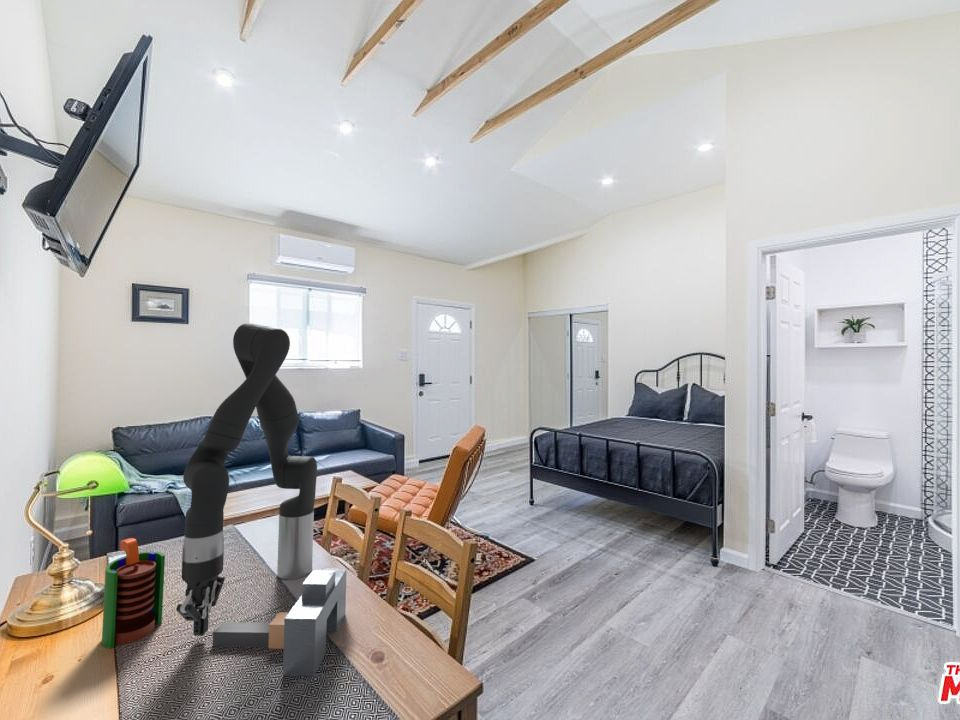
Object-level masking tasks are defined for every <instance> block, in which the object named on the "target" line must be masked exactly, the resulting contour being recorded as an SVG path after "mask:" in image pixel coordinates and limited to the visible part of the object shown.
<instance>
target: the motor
mask: <svg viewBox="0 0 960 720" xmlns="http://www.w3.org/2000/svg"><path fill="white" fill-rule="evenodd" d="M119 551H123V552H125V554H126V556H124V557H121V558H119V559H116V560H114V561H112V562H111V563H109V564H108V563H107V565H106V567H105V571H104V589H103V591H104V593H103V609H102V610H103V611H102V627H101V629H102V630H101V631H102V633H101V645H102V646H103V647H105V648H106V649H107V648H108V649H112V648H114V647H115V645H127V644H131V643H134V642H137V641H139V640H142V639H144V638H146V637H147V636H149V635H150V634H151V633H153V631H154V630H155V627H156V624H157V625H159V626H160V625H162V624H163V621H162V620H163V607H164V605H163V604H164V602H163V601H164V584H165V583H164V582H165V562H166V560H165V559H166V554H164V553H163V552H161V551H153V550H152V551H142V552H140V551H139V544H138V541H137V539H136V538H134V537H130V538H129V537H128V538H125V539H122V540H120V546H119Z"/></svg>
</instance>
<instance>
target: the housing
mask: <svg viewBox="0 0 960 720" xmlns="http://www.w3.org/2000/svg"><path fill="white" fill-rule="evenodd" d="M347 570H348V569H347V568H332V567H331V568H327V567H325V568H323V567H322V568H321V569H312V571H311V572H310V573H309V574H308V575H307V577H306V578H305V580H304V581H303V583H302V584H301V595H300V596H299V598H298V599H297V601H296V602H295V603H294V604H293V606H292V608H291V609H290V610H289V613H288V614H287V616H286V617H285V619H284V649H283V655H282V657H283V658H282V677H314V676H316V673H317V671H318V669H319V667H320V666H321V664H322V661H323V660H324V658H325V655H326V651H327V632H332V633H334V632H336V633H337V632H338V630H339V628H340V626H341V624H342V622H343V620H344V618H345V616H346V604H347V603H346V601H347V599H346V597H347Z"/></svg>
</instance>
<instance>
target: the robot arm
mask: <svg viewBox="0 0 960 720" xmlns="http://www.w3.org/2000/svg"><path fill="white" fill-rule="evenodd" d="M290 345H291V341H290V337H289V335H288V333H287V332H286V331H285V330H284V329H281V328H279V327H275V326H271V325H265V324H260V323H254V322H246V323H242V324H240V325H239V326H238V327H237V329H235V332H234V333H233V338H232V347H233V350H234V354H235V355H236V358H237V359H236V360H237V362H238V363H239V365H240V368H241V370H242V372H243V374H244V377H245V378H246V379H244V380H243V382H242V383H241V384H240V385H239V386H238V387H237V388H236V389H235V390H233V392H232V393H230V394H229V395H228V396H227V397H226V398H225V399H224V400H223V401H222V402H221V404H219V406H218V407H217V409H216V411H215V412H214V414H213V416H212V418H211V421H210V423H209V426H208V427H207V430H206V432H205V435H204V437H203V439H202V441H201V442H200V444H199V445H198V446H197V447H196V449H195V451H194V452H193V454H192V455H191V457H190V458H189V460H188V462H187V463H186V466H185V468H184V471H183V477H182V479H183V482H184V485H185V487H186V488H188V489H189V490H191V491H190V492H191V499H190V507H189V508H188V509H187V510H186V512H185V517H184V518H185V519H184V537H183V542H182V556H181V557H182V559H181V562H182V563H181V579H182V581H184V583H186V589H185V592H184V593H185V594H184V596H185V599H184V601H183V602H182V603H178V604H177V605H176V607H175V609H176V612H178V614H179V615H180V616H181V617H182V618H183V619H184V620H185V621H186V622H187V621H189V622H192V621H193V631H192V632H193V633H192V634H193V635H194V636H197V637H198V636H199V637H202V636H204V635H205V634H206V633H207V632H208V631H209V619H210V614H211V612H212V607H215V606H216V604H217V603H218V599H219V598H220V595H221V594H220V593H221V591H222V589H223V586H224V582H225V580H226V577H225V576H220V575H221V573H222V572H223V571H224V559H225V558H224V557H225V556H224V555H225V554H224V553H225V535H224V519H225V518H224V515H225V514H224V508H225V506H226V501H227V499H228V498H227V497H228V494H229V488H230V476H229V471H228V469H227V467H225V466H224V463H225V462H226V460H227V458H228V456H229V455H230V454H231V452H234V451H235V450H237V448H238V447H239V444H240V443H241V441H242V438H243V436H244V434H245V431H246V428H247V426H248V424H249V422H250V420H251V417H252V415H253V413H254V411H255V409H256V412H257V417H258V420H259V423H260V426H261V427H260V428H261V430H262V432H263V436H264V438H265V441H266V445H267V449H268V455H269V460H270V465H271V471H272V477H273V481H274V483H275V485H276V486H277V487H278V488H280V489H285V490H286V489H287V490H299V493H298V495H297V496H294V497H291V498H288V499H286V500H284V501H282V502H281V503H280V504H279V508H278V510H279V511H278V542H277V543H278V544H277V545H278V546H277V547H278V548H277V571H276V573H277V574H276V575H277V577H278V578H279V579H282V580H297V579H301V578H303V577H306V576H308V575H310V573H311V572H312V571H313V557H314V556H313V553H314V552H313V551H314V520H315V519H314V517H315V516H314V515H315V502H316V490H317V489H316V488H317V479H318V478H317V477H318V463H317V459H316V458H315V457H314V456H309V455H308V456H307V455H306V456H305V455H290V453H289V451H288V445H289V442H290V441H291V440H292V437H293V436H294V435H295V432H297V428H298V426H299V422H300V419H299V413H298V408H297V404H296V401H295V399H294V397H293V395H292V394H291V392H290V390H289V389H288V388H287V387H286V386H285V384H284V383H283V382H282V380H280V378H279V377H278V376H277V373H278V372H279V370H280V368H281V367H282V365H283V363H284V362H285V360H286V358H287V356H288V353H289V351H290V347H291V346H290Z"/></svg>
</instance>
